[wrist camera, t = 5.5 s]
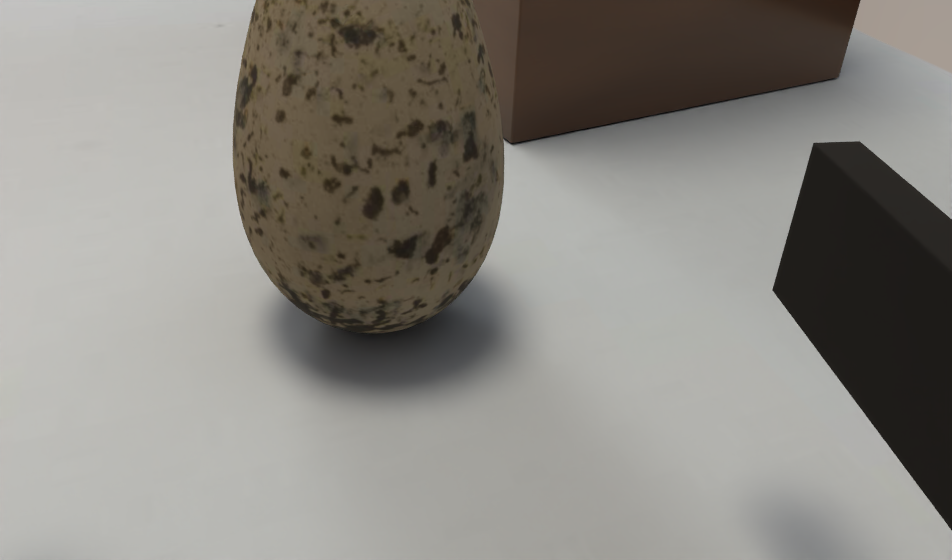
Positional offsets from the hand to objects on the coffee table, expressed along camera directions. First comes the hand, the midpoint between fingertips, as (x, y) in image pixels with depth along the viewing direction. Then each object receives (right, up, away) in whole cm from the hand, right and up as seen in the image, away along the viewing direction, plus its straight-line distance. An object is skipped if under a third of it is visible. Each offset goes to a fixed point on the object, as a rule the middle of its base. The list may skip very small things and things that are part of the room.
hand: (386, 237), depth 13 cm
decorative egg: (-1, -2, +9) cm, 9 cm away
